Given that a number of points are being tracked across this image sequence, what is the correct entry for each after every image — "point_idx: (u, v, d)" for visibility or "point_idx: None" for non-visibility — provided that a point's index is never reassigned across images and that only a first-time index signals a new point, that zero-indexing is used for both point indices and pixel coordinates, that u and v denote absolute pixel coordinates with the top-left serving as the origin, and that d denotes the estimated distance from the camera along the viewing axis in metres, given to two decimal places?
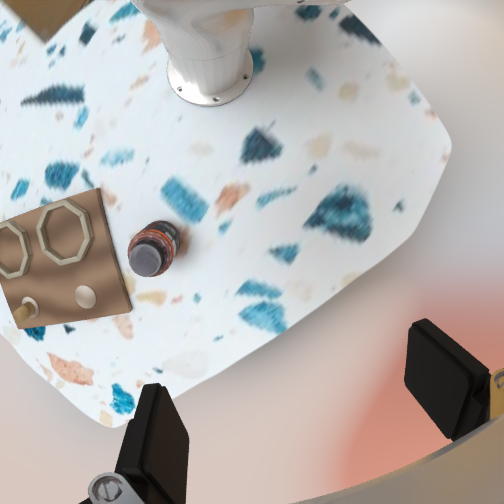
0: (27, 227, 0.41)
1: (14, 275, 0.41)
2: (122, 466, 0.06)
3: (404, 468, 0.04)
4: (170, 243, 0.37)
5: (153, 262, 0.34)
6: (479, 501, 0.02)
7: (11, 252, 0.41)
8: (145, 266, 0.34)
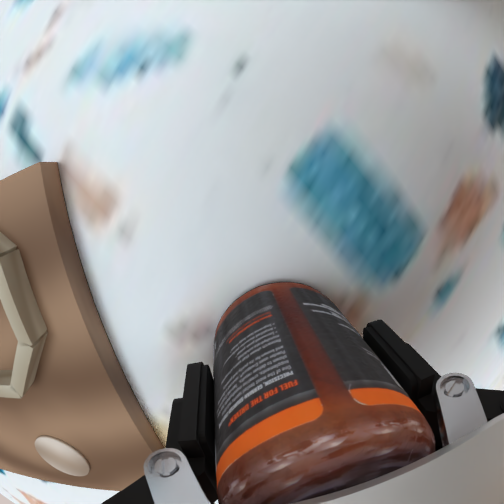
0: None
1: None
2: (180, 439, 0.07)
3: (404, 468, 0.04)
4: None
5: None
6: (479, 501, 0.02)
7: None
8: None
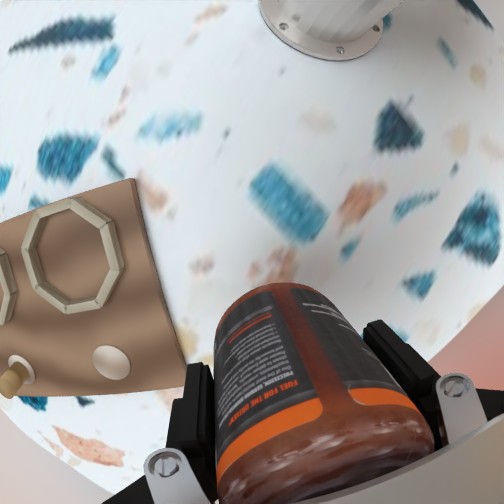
0: (8, 246, 0.23)
1: None
2: (180, 440, 0.07)
3: (404, 468, 0.04)
4: None
5: None
6: (479, 501, 0.02)
7: None
8: None
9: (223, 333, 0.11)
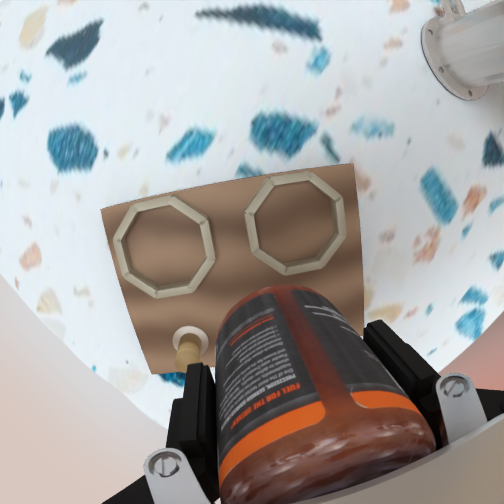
0: (213, 210, 0.29)
1: (174, 292, 0.30)
2: (180, 440, 0.07)
3: (404, 468, 0.04)
4: None
5: None
6: (479, 501, 0.02)
7: (164, 252, 0.30)
8: None
9: (225, 335, 0.11)
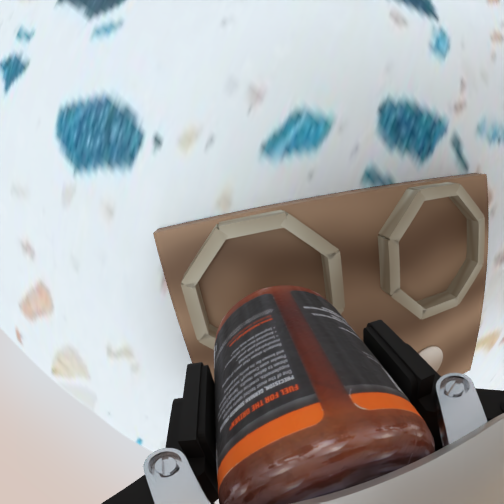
0: (339, 234, 0.19)
1: None
2: (180, 439, 0.07)
3: (404, 468, 0.04)
4: None
5: None
6: (479, 501, 0.02)
7: None
8: None
9: (224, 336, 0.11)
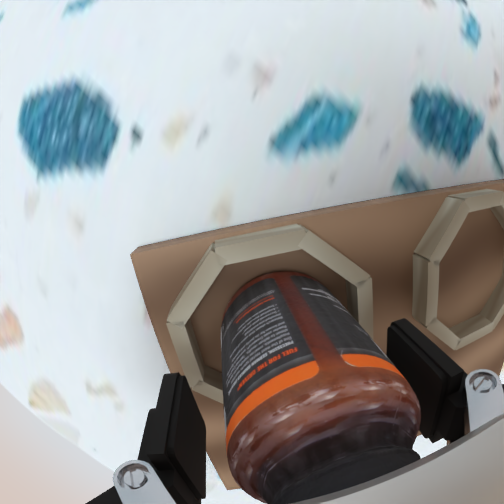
0: (368, 254, 0.15)
1: None
2: (148, 453, 0.06)
3: (404, 468, 0.04)
4: None
5: None
6: (479, 501, 0.02)
7: None
8: None
9: (230, 316, 0.13)
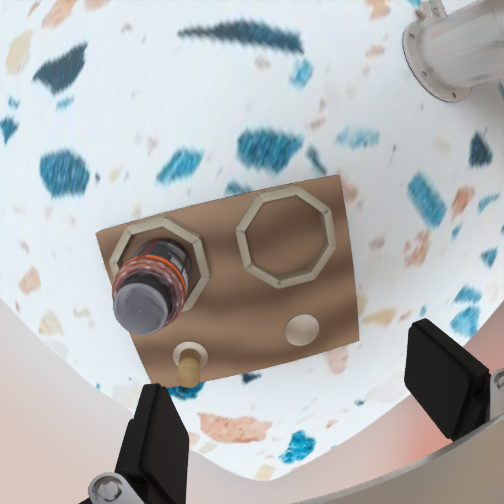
0: (205, 229, 0.30)
1: None
2: (122, 466, 0.06)
3: (404, 468, 0.04)
4: (180, 277, 0.23)
5: (154, 313, 0.20)
6: (479, 501, 0.02)
7: None
8: (141, 319, 0.20)
9: None
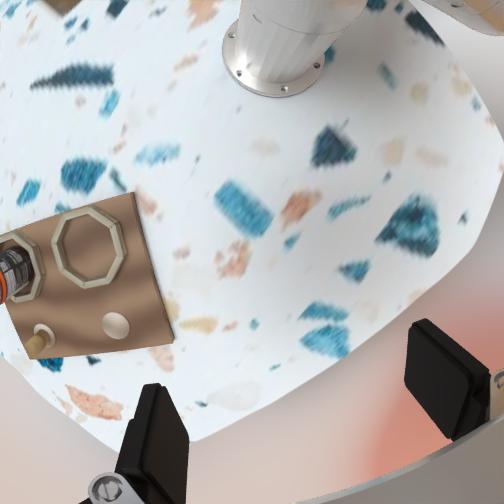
0: (39, 240, 0.33)
1: (23, 299, 0.34)
2: (122, 466, 0.06)
3: (404, 468, 0.04)
4: None
5: None
6: (479, 501, 0.02)
7: None
8: None
9: None
